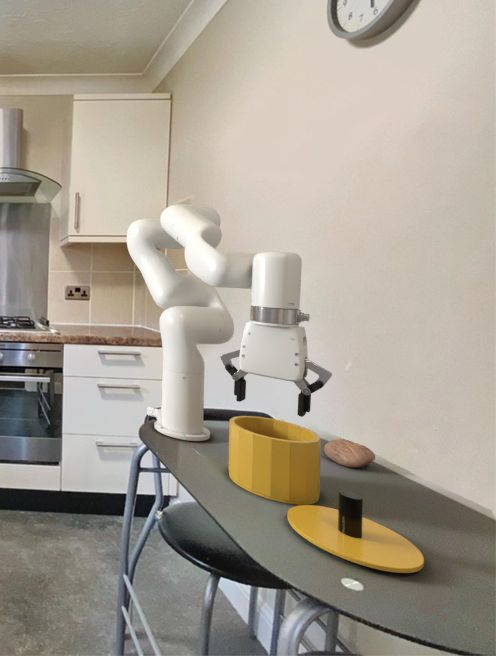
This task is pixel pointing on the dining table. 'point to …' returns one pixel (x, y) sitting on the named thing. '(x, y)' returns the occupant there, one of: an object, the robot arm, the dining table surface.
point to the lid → (355, 535)
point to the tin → (275, 459)
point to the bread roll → (348, 453)
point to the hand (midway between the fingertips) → (269, 407)
